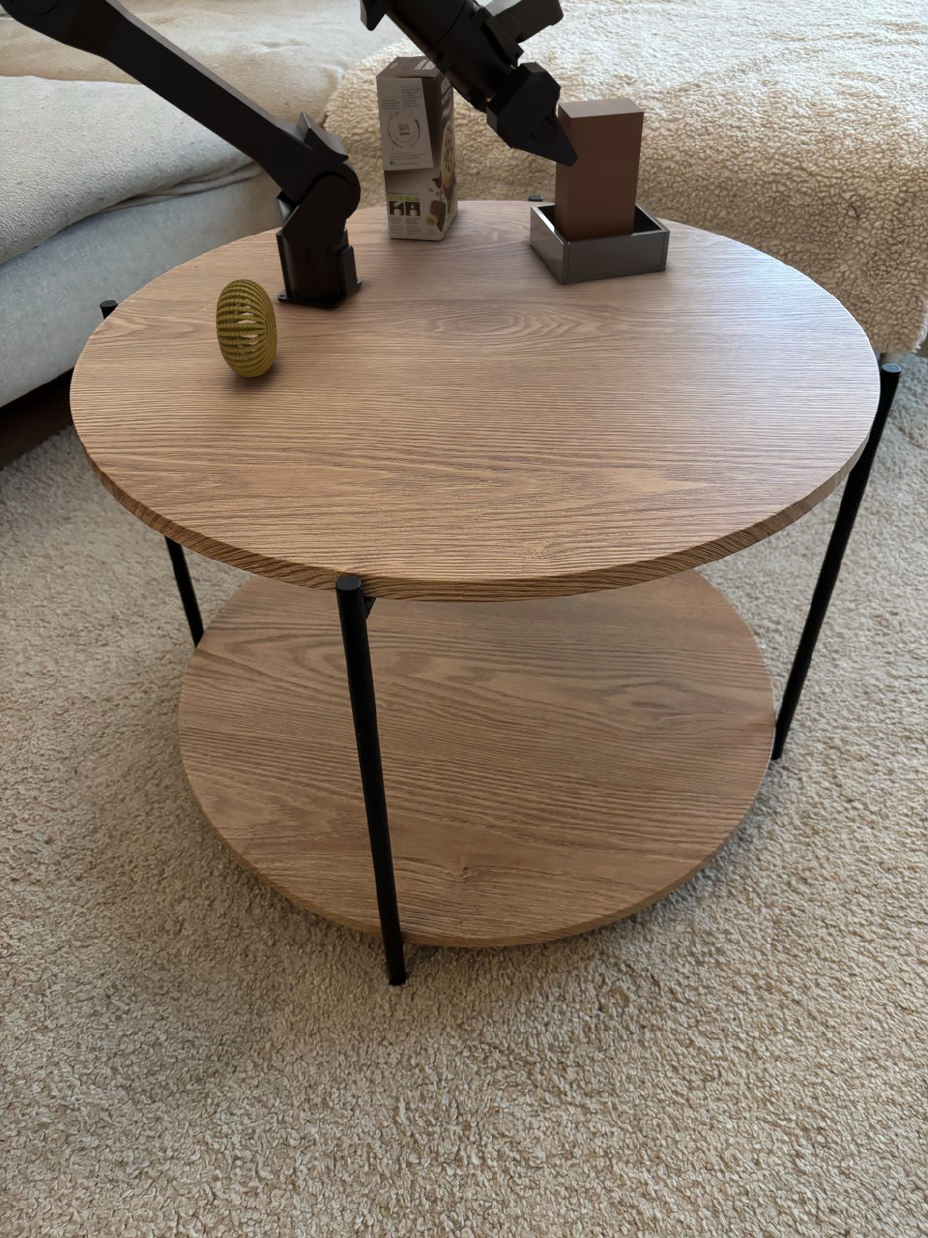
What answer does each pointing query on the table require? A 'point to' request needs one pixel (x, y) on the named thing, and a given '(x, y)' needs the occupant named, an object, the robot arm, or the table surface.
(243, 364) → the sculpture
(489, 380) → the table surface
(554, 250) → the open box
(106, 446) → the table surface
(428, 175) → the coffee box
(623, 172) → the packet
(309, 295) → the robot arm
